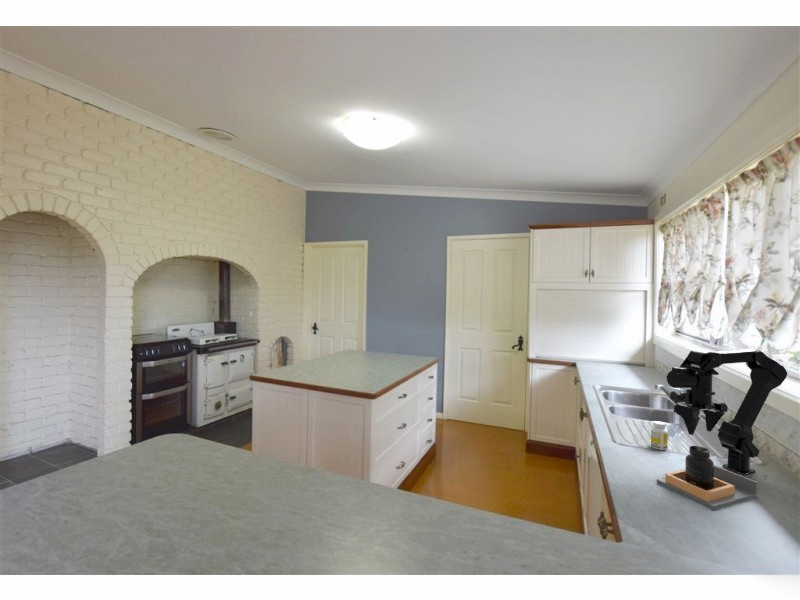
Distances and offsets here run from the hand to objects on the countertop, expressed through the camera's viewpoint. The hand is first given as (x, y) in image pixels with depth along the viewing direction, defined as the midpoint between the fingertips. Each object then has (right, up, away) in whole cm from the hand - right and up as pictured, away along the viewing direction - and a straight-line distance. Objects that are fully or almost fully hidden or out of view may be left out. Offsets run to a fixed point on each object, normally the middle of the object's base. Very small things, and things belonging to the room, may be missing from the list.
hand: (700, 432), depth 128 cm
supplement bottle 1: (-1, -13, +19) cm, 23 cm away
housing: (-8, -13, -12) cm, 20 cm away
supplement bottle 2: (-11, -12, -13) cm, 21 cm away
